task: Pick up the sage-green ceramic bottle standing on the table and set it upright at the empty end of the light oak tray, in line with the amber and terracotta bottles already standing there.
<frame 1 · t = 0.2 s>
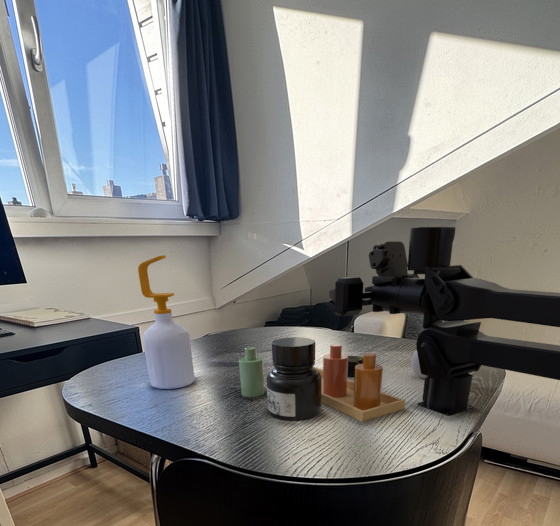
hand: (348, 291, 81), 17 cm above the table, tool horizontal, fingers open, 9 cm apart
terracotta bottle: (334, 393, 75), resting on tray
amber bottle: (366, 407, 69), resting on tray
soap bottle: (173, 383, 86), on the table
sage bottle: (253, 395, 77), on the table
perfume bottle: (434, 379, 84), on the table
ink bottle: (294, 414, 69), on the table
tray: (334, 396, 76), on the table
tape measure: (347, 375, 88), on the table
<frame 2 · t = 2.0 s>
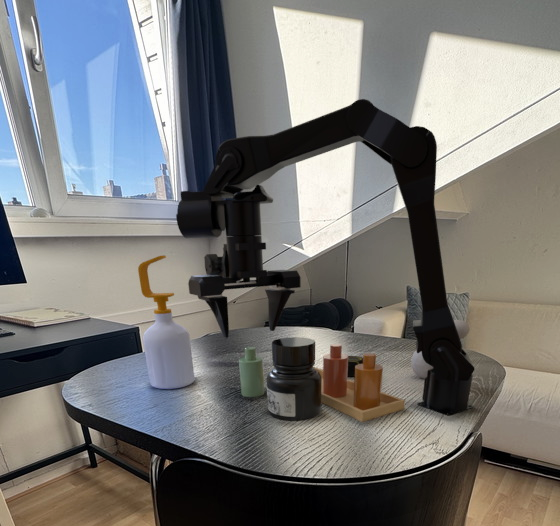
hand: (249, 333, 73), 12 cm above the table, tool pointing down, fingers open, 9 cm apart
nothing on the table moved.
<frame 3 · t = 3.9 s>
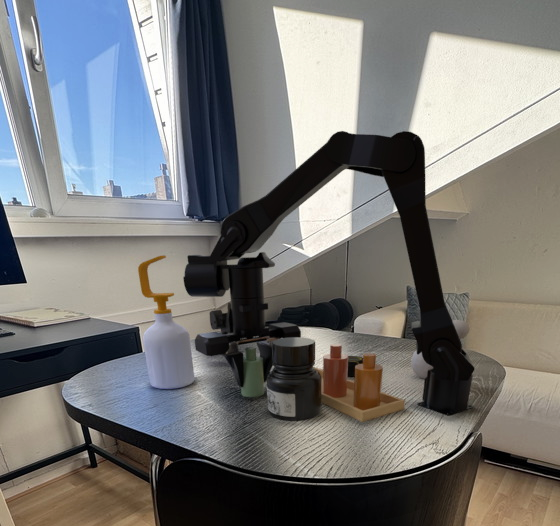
hand: (252, 384, 76), 2 cm above the table, tool pointing down, fingers closed on sage bottle, 4 cm apart
sage bottle: (253, 395, 77), on the table, touching gripper
everything else where it was.
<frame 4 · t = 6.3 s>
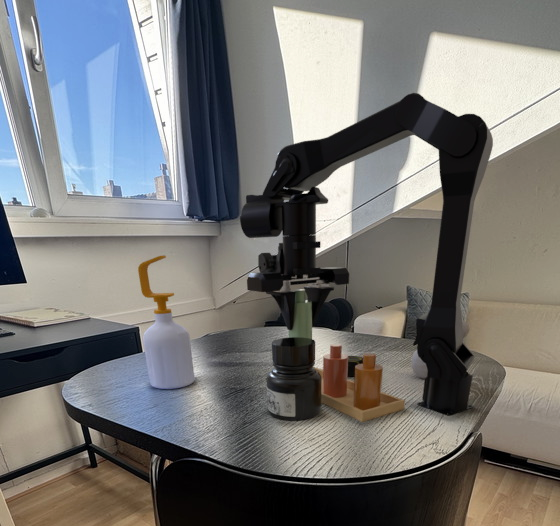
hand: (300, 328, 77), 11 cm above the table, tool pointing down, fingers closed on sage bottle, 4 cm apart
sage bottle: (300, 340, 78), point 9 cm above the table, touching gripper
everything else where it was.
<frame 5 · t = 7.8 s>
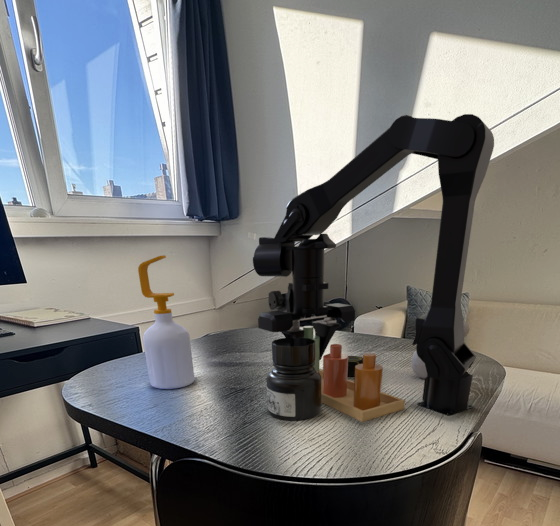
hand: (308, 362, 80), 5 cm above the table, tool pointing down, fingers closed on sage bottle, 4 cm apart
sage bottle: (308, 372, 81), point 2 cm above the table, touching gripper
everything else where it was.
when the fingers open (3 cm above the table, at t = 8.8 s): sage bottle stays where it is, resting on tray.
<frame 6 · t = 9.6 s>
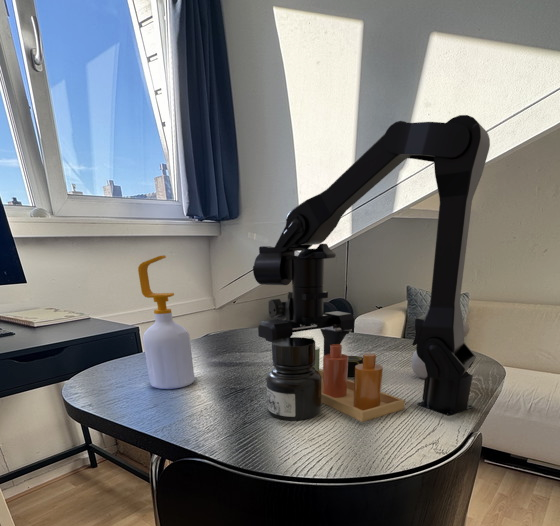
hand: (307, 369, 81), 3 cm above the table, tool pointing down, fingers open, 9 cm apart
sage bottle: (308, 382, 82), resting on tray
everything else where it was.
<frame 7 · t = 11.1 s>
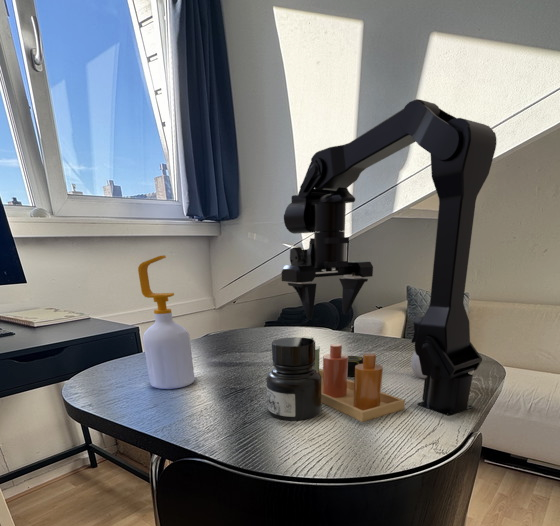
hand: (327, 316, 84), 12 cm above the table, tool pointing down, fingers open, 9 cm apart
nothing on the table moved.
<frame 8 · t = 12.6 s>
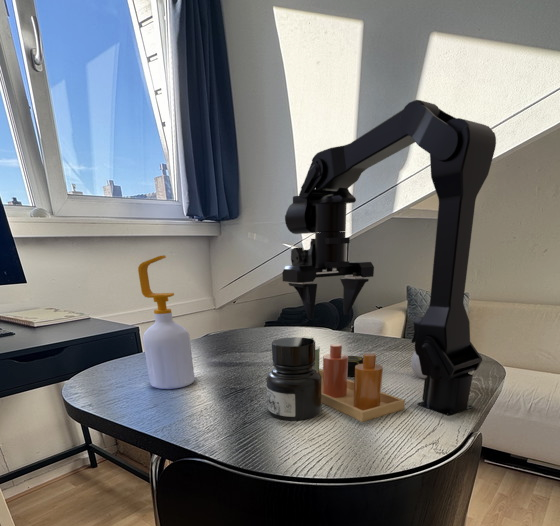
hand: (328, 316, 84), 12 cm above the table, tool pointing down, fingers open, 9 cm apart
nothing on the table moved.
at the end: sage bottle 0.0 cm from the target spot in the tray, point 0.5 cm above the tray's base; sage bottle tilted 0°; the gripper is holding nothing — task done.
